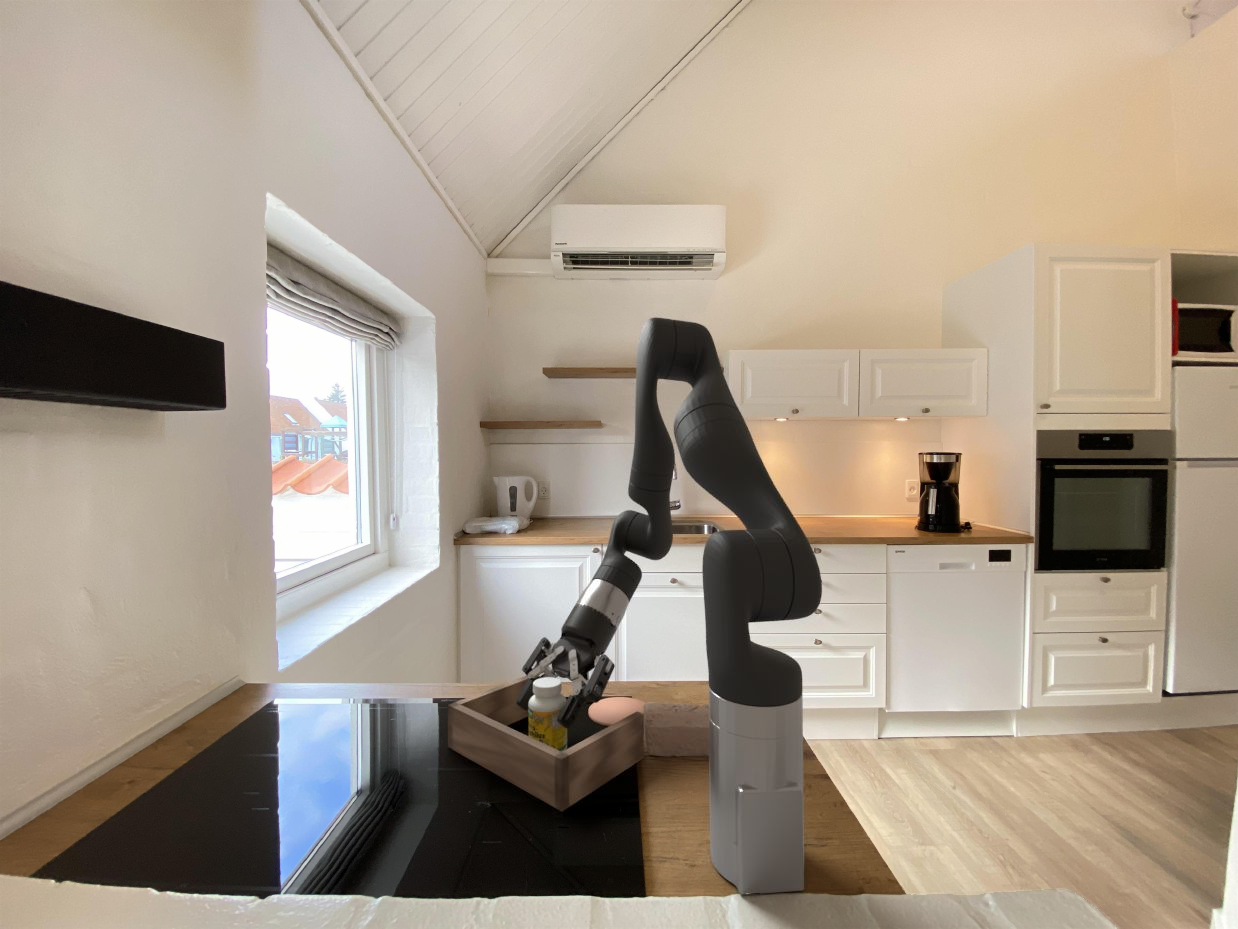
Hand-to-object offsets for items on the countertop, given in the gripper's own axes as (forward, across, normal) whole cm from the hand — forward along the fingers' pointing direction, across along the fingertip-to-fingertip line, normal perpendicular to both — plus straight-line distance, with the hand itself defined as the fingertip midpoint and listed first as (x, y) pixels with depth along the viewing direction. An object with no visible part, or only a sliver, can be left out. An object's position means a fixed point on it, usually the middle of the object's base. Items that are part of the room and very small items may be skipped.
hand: (540, 716), depth 77 cm
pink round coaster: (-8, 0, +16) cm, 18 cm away
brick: (-8, +15, +16) cm, 24 cm away
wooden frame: (+3, 0, +5) cm, 5 cm away
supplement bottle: (+3, 0, +5) cm, 6 cm away
